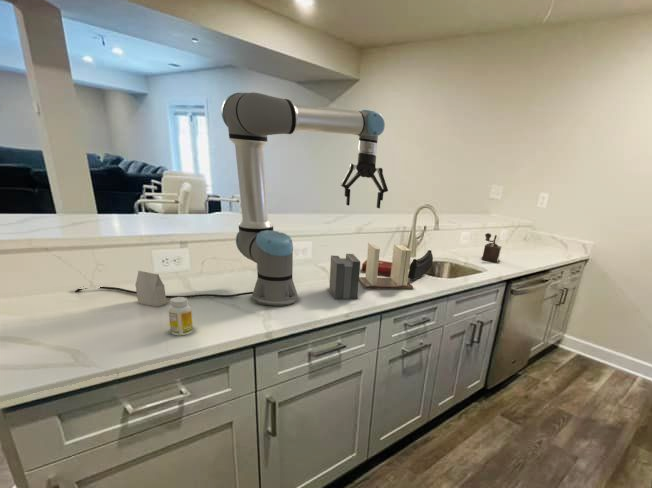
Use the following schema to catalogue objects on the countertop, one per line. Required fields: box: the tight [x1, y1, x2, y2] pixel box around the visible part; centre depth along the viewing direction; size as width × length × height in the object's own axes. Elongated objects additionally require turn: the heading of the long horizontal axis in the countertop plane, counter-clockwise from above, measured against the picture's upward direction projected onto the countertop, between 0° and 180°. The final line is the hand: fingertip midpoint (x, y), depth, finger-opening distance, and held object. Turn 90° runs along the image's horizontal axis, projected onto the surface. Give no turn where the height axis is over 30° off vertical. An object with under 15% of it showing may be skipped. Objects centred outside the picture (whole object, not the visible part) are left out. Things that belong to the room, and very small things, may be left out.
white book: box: [364, 242, 381, 286], centre depth 167 cm, size 2×11×16 cm, turn 22°
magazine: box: [408, 249, 434, 280], centre depth 193 cm, size 17×3×30 cm
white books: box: [389, 243, 412, 286], centre depth 172 cm, size 4×11×16 cm, turn 22°
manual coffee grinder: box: [481, 232, 502, 264], centre depth 250 cm, size 16×11×18 cm
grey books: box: [328, 253, 361, 300], centre depth 151 cm, size 9×12×15 cm
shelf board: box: [359, 276, 414, 290], centre depth 173 cm, size 22×13×1 cm, turn 112°
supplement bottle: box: [167, 297, 194, 336], centre depth 105 cm, size 5×5×10 cm
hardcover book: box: [361, 259, 392, 277], centre depth 191 cm, size 12×21×4 cm, turn 85°
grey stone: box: [134, 270, 167, 307], centre depth 119 cm, size 4×7×10 cm, turn 79°
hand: (363, 206), depth 166 cm, fingers open, 13 cm apart
